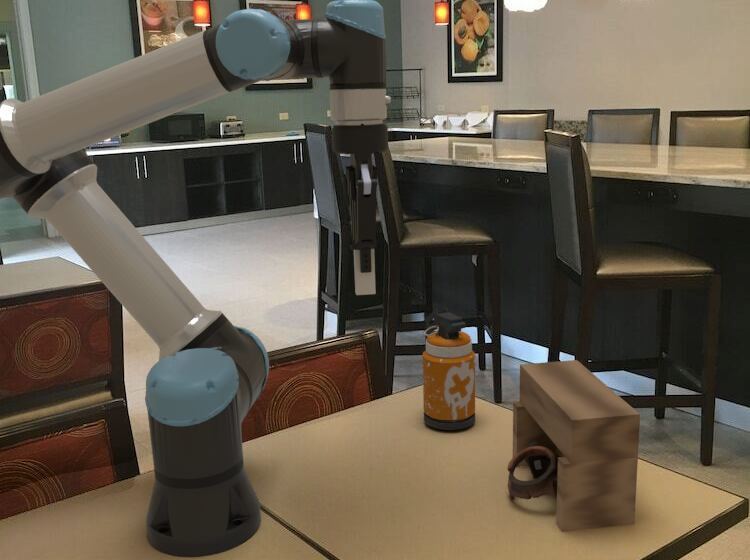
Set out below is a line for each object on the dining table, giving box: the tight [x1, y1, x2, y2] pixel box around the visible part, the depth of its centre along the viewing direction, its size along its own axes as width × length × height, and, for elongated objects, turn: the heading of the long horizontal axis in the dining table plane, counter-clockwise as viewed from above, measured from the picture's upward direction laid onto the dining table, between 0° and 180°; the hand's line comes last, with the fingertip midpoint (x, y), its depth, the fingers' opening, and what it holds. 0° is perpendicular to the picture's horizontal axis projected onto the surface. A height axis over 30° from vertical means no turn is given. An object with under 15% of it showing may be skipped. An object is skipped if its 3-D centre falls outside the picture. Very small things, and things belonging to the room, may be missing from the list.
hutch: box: [512, 359, 641, 533], centre depth 112 cm, size 10×21×16 cm, turn 8°
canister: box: [422, 307, 476, 431], centre depth 137 cm, size 9×11×20 cm
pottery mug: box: [506, 442, 561, 500], centre depth 113 cm, size 12×9×8 cm
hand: (365, 293), depth 111 cm, fingers closed
